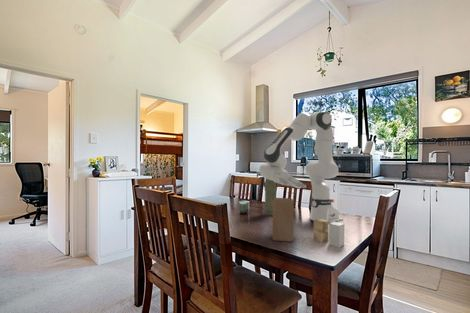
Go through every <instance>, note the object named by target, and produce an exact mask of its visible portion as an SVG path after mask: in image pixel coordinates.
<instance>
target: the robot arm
mask: <svg viewBox="0 0 470 313" xmlns="http://www.w3.org/2000/svg"><path fill="white" fill-rule="evenodd" d="M313 130H314V131H315V133H316V137H315V142H314V153H315V154H316V156H317V159H318V160H317V161H311V162H308V163H307V164H306V165H305V167H304V169H305V173H306V175H307V176H308V178H309V180H310V184H311V200H310V201H311V209H310V214H309V220H310V221H314V220H315V219H324V220H327V221H329V223H332V222H339V221H343V218H344V217H341V216H340V212H339V209H337V208H336V207H335V206H334V205H333V204H332V203H334V202H335V199H330V194H331V193H330V191H331V190H330V186H329V184H327V182H326V180H327V179H335V178H336V177H337V176H338V175H339V171H340V170H339V166H338V165H337V164H336V162H335V160H334V157H333V145H334V144H333V143H334V132H333V130H334V129H333V127H332V115H331V113H330V112H329V111H323V110H322V111H317V112H313V113H311V114H308V113H306V112H300V113H299V114H298V115H297V116H296V117H295V118H294V119H293V120H292V122H291V123H290V125H289V126H287V127H285V128H284V129H282V131H281V132H280V133H279V135H277V136H276V138H275V139H274V141H272V143H271V144H270V145H269V146H268V147H267V148H266V149H265V150H264V152H263V158H264V160H265V161H267V162H266V163H262V164H261V165H260V166H259V174H260V176H261V177H262V178H263V177H264V178H265V180H266V179H268V180H273V181H274V182H276V183H278V184H279V185H283V186H285V187H289V186H290V187H292V188H296V189H301V188H303V189H306V188H307V185H306V184H305V183H303V182H301V181H300V180H299V179H297V178H295V177H293V176H292V175H291V174H290V173H289V172H288V170H286V166H287V165H288V160H287V158H286V156H285V155H284V154H283V153H282V150H281V149H282V147H284V145H285V144H286V142H288V140H291V141H294V142H296V141H297V142H298V141H300V140H302V139H303V138H304V137H305V135H306V134H307V132H308V131H313ZM325 179H326V180H325Z"/></svg>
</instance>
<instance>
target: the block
mask: <svg viewBox="0 0 470 313" xmlns="http://www.w3.org/2000/svg"><path fill="white" fill-rule="evenodd" d="M294 206H295V205H294V200H293V198H289V197H286V198H285V197H276V198H274V200H273V216H272V241H275V242H288V243H291V242H292V243H293V241H294Z"/></svg>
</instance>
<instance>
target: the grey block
mask: <svg viewBox="0 0 470 313" xmlns="http://www.w3.org/2000/svg"><path fill="white" fill-rule="evenodd" d="M328 245H329V246H333V247H336V248H341V247H342V246H345V223H342V222H338V221H336V222H332V223H329V235H328Z"/></svg>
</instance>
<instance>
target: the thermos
mask: <svg viewBox="0 0 470 313" xmlns="http://www.w3.org/2000/svg"><path fill="white" fill-rule="evenodd" d="M262 186H263V188H264V191H265V193H264V205H263V208H264V209H263V210H264V213H263V214H264V215H266V216H269V217H270V216H272V217H273V200H274V198H277V190H278V188H279V186H280V184H278V183H276V182H274V181H273V180H268V179H266V178H264V177H262Z"/></svg>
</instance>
